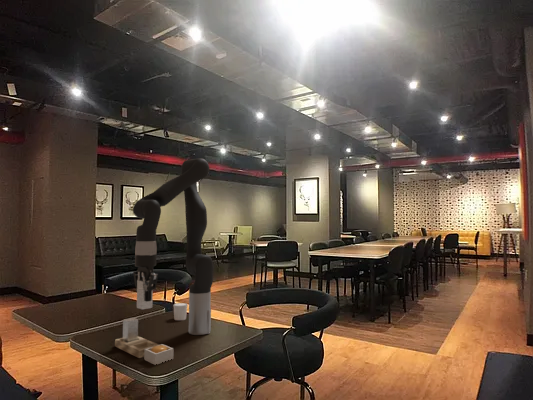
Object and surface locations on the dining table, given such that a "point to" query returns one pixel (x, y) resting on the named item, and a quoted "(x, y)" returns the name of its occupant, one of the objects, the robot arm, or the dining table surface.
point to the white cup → (180, 311)
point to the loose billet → (142, 296)
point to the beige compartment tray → (135, 346)
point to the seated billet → (130, 330)
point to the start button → (159, 348)
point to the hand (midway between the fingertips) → (144, 299)
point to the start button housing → (158, 355)
